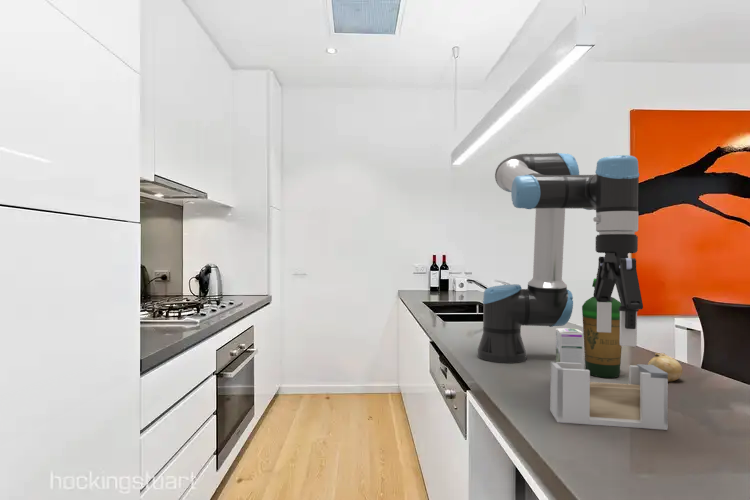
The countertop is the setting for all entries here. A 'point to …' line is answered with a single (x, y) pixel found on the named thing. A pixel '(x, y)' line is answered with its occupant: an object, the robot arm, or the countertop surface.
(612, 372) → the bottle
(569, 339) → the syrup box
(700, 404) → the countertop surface
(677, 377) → the tan round lump
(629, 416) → the tan wooden block
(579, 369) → the white open holder
